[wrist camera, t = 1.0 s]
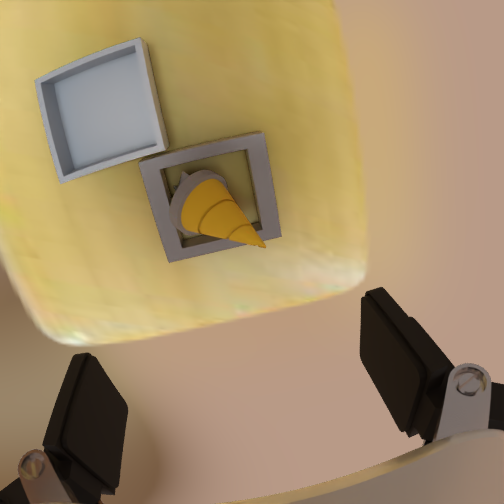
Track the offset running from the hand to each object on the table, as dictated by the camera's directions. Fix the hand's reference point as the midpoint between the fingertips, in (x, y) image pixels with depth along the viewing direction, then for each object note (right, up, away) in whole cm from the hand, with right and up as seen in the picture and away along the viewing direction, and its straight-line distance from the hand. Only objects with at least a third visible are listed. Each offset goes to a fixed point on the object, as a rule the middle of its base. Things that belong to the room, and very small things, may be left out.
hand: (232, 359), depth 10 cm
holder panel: (-3, +8, +17) cm, 19 cm away
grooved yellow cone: (-3, +9, +17) cm, 19 cm away
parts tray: (-11, +15, +12) cm, 22 cm away
